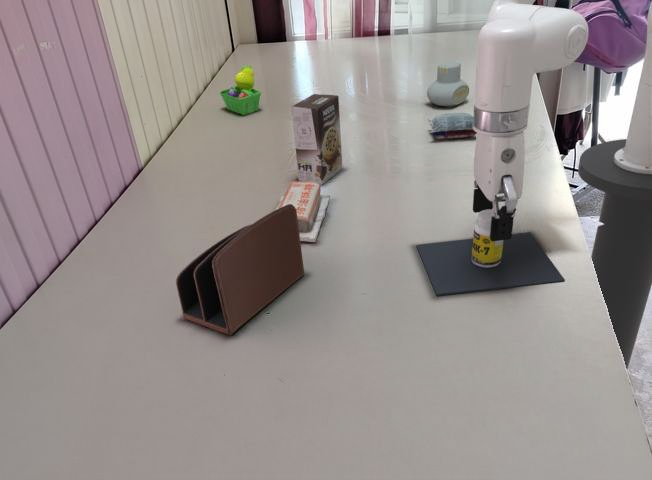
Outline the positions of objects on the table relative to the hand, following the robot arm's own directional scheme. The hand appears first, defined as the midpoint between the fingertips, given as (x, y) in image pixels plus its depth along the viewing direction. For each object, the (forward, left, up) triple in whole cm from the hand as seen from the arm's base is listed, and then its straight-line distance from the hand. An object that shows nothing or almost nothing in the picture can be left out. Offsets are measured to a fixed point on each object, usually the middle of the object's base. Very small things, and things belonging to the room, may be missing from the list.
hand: (491, 224), depth 101 cm
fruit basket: (+42, -97, -7) cm, 106 cm away
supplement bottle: (0, 0, -7) cm, 7 cm away
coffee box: (+24, -44, -7) cm, 51 cm away
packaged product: (+30, -23, -7) cm, 39 cm away
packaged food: (-9, -59, -7) cm, 60 cm away
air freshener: (-13, -82, -7) cm, 83 cm away
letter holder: (+40, +2, -7) cm, 41 cm away
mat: (0, 0, -7) cm, 7 cm away
